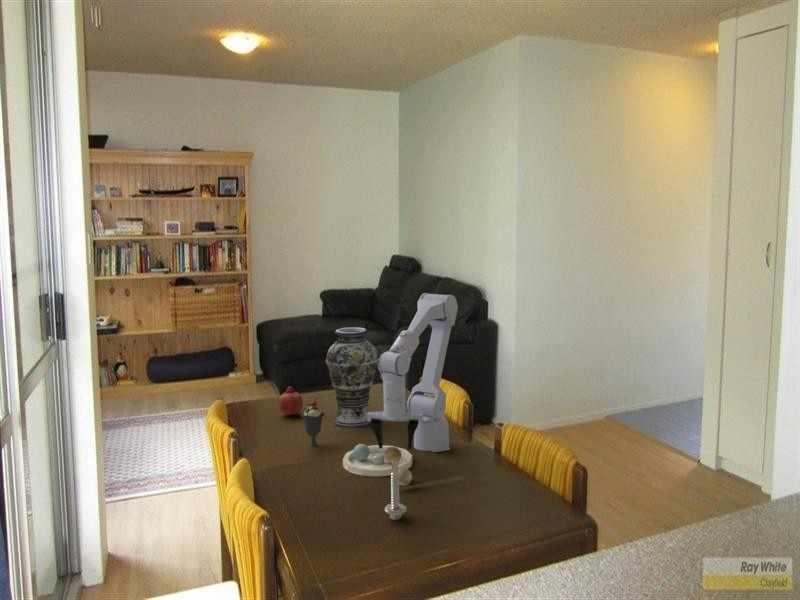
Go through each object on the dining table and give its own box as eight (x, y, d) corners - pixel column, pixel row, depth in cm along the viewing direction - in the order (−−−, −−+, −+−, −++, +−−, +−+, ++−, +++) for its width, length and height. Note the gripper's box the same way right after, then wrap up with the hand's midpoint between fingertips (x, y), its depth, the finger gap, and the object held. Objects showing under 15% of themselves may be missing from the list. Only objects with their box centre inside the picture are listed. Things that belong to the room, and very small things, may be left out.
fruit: (274, 418, 218) (273, 388, 216) (285, 411, 225) (284, 382, 224) (296, 420, 215) (295, 390, 214) (307, 413, 223) (306, 384, 222)
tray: (396, 449, 188) (396, 440, 187) (423, 472, 171) (423, 462, 171) (334, 459, 181) (334, 449, 181) (355, 483, 164) (355, 473, 164)
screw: (410, 519, 144) (389, 524, 143) (401, 510, 149) (381, 515, 147) (409, 462, 143) (388, 466, 141) (400, 455, 147) (380, 458, 145)
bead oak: (391, 460, 178) (386, 445, 177) (406, 458, 176) (400, 442, 176) (385, 467, 174) (379, 452, 174) (399, 465, 172) (394, 449, 172)
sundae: (321, 452, 186) (320, 400, 184) (298, 451, 187) (297, 399, 185) (328, 444, 192) (327, 394, 190) (306, 443, 194) (305, 393, 192)
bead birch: (407, 481, 165) (407, 464, 165) (414, 487, 161) (414, 470, 161) (391, 484, 164) (391, 466, 163) (398, 490, 160) (397, 473, 159)
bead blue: (366, 456, 180) (366, 440, 180) (372, 461, 176) (371, 445, 176) (351, 458, 179) (350, 442, 178) (356, 464, 175) (356, 448, 174)
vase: (390, 418, 216) (389, 327, 212) (359, 433, 201) (357, 336, 197) (349, 411, 225) (347, 323, 221) (316, 425, 210) (313, 331, 206)
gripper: (364, 401, 170) (365, 452, 172) (420, 402, 168) (421, 454, 170) (369, 393, 177) (370, 442, 179) (423, 394, 175) (424, 444, 177)
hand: (395, 447), depth 175 cm, fingers open, 7 cm apart
